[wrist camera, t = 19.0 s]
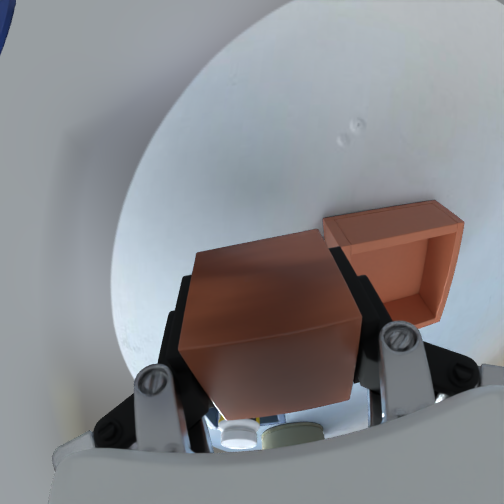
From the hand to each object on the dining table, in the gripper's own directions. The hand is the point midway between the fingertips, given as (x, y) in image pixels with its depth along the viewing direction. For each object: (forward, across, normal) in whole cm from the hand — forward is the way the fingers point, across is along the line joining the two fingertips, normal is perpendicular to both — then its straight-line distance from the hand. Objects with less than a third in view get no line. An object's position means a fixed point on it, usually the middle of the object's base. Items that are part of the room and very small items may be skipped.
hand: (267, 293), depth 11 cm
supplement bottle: (+11, +6, +24) cm, 27 cm away
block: (0, 0, 0) cm, 0 cm away
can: (+11, +1, +46) cm, 47 cm away
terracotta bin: (+11, -11, +9) cm, 18 cm away
